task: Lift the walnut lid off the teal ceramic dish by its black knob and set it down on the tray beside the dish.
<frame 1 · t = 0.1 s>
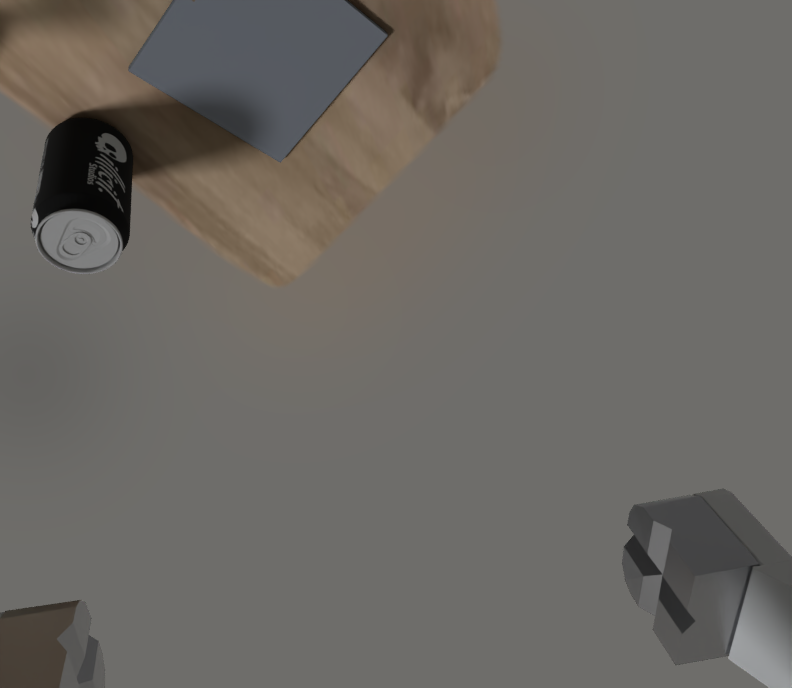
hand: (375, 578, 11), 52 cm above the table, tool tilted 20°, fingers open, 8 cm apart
tray: (259, 49, 58), on the table
beverage can: (90, 147, 62), on the table
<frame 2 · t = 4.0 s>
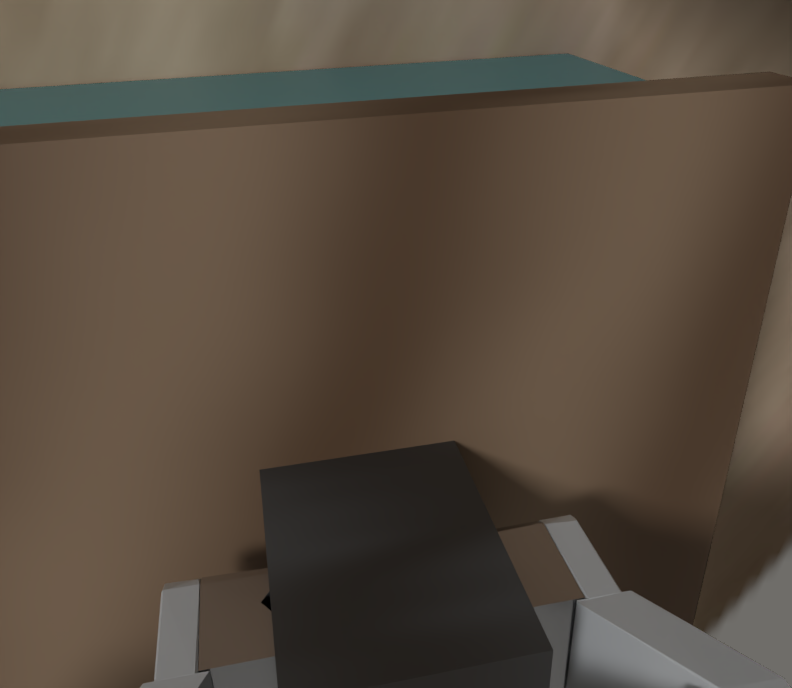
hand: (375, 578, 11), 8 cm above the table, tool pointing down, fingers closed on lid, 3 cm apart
lid: (354, 490, 13), point 6 cm above the table, touching dish, gripper
dish: (313, 332, 18), on the table
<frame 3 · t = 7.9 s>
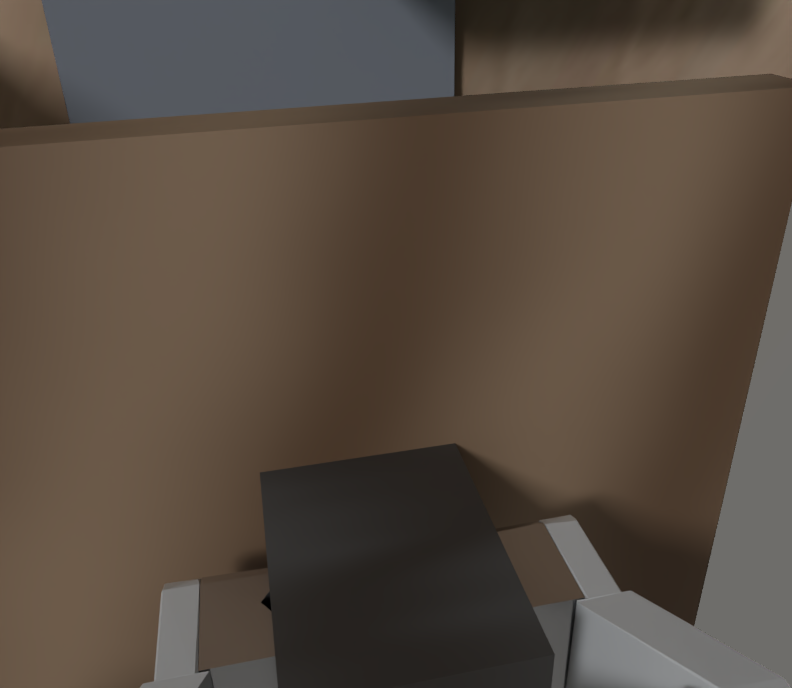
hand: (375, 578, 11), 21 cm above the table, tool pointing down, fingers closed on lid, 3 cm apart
tray: (276, 176, 30), on the table
lid: (354, 492, 13), point 19 cm above the table, touching gripper
when the fingers open (4 cm above the table, at t = 11.5 s): lid drops 1 cm, resting on tray.
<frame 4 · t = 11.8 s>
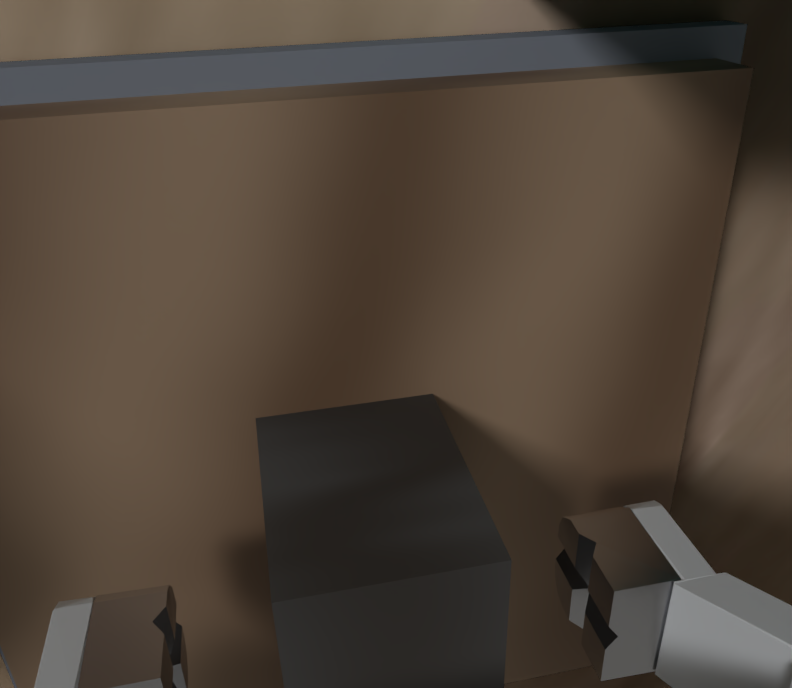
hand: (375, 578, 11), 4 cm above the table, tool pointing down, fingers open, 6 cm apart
tray: (335, 426, 15), on the table
lid: (342, 443, 14), point 1 cm above the table, touching tray
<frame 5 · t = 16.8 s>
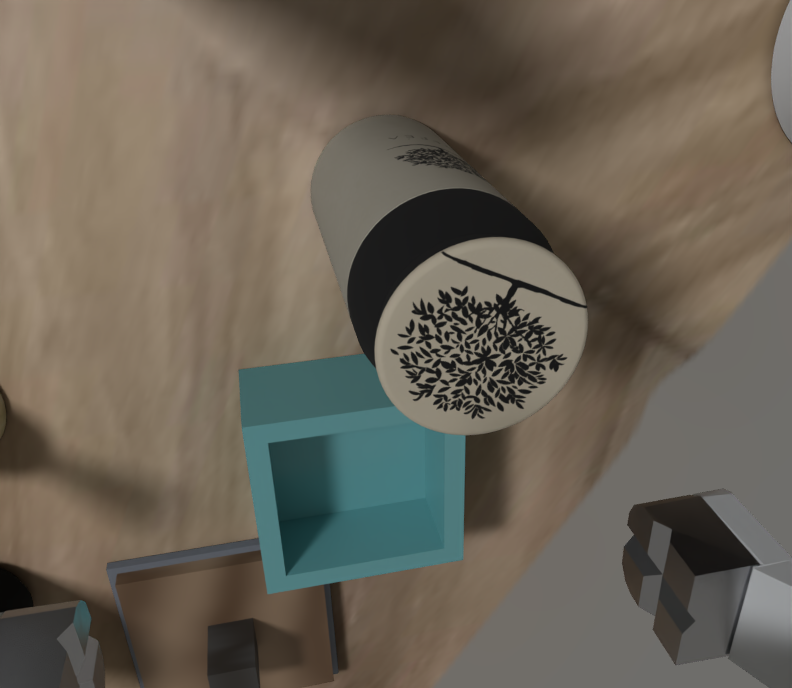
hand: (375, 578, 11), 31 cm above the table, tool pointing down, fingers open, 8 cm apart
travel mug: (383, 187, 41), on the table
tray: (232, 619, 54), on the table
lid: (233, 625, 53), point 1 cm above the table, touching tray
dish: (346, 438, 48), on the table
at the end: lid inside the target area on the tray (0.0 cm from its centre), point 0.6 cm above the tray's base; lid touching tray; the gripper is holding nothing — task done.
